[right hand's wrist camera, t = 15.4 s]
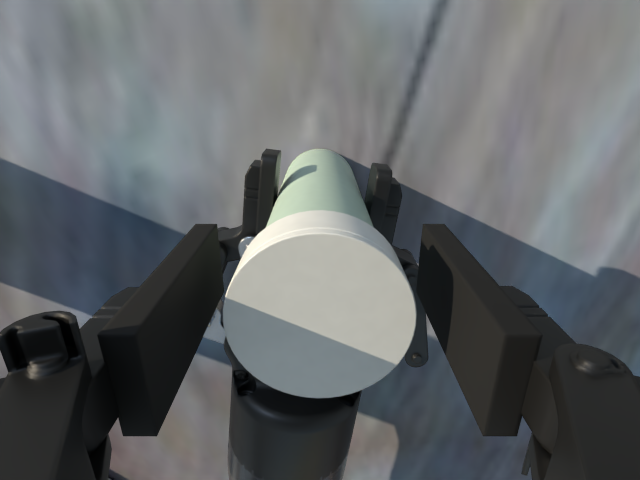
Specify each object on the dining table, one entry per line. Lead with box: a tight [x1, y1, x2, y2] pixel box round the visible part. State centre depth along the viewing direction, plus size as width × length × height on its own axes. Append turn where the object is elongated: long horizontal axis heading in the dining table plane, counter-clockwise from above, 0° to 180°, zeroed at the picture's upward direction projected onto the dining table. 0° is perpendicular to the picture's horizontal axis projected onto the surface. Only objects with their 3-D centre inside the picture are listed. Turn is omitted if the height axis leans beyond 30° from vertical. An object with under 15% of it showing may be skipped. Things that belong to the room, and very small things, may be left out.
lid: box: [223, 210, 417, 398], centre depth 11 cm, size 5×5×2 cm
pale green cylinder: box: [266, 149, 374, 228], centre depth 18 cm, size 4×4×15 cm
